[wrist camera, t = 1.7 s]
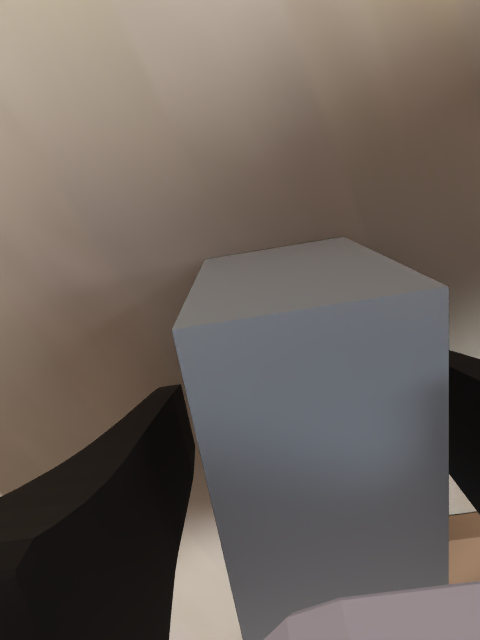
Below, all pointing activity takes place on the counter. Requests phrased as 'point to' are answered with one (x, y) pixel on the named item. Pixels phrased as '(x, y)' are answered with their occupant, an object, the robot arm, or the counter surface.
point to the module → (320, 423)
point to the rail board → (464, 548)
